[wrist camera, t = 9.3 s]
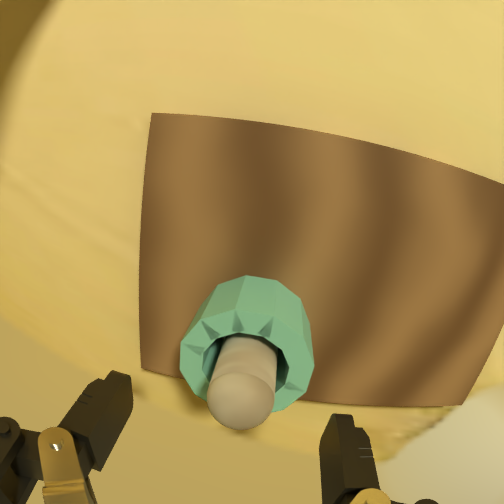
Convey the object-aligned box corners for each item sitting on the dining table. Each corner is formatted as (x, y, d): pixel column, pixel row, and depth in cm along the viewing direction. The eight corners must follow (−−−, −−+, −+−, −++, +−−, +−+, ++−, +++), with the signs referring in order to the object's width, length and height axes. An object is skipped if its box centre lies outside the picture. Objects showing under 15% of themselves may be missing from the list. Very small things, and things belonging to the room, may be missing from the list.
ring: (196, 359, 19) (179, 401, 15) (204, 267, 17) (182, 298, 14) (295, 376, 19) (295, 422, 15) (318, 287, 17) (326, 324, 13)
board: (149, 356, 21) (93, 444, 13) (161, 115, 17) (66, 93, 8) (455, 393, 20) (496, 472, 12) (527, 196, 15) (620, 227, 7)
